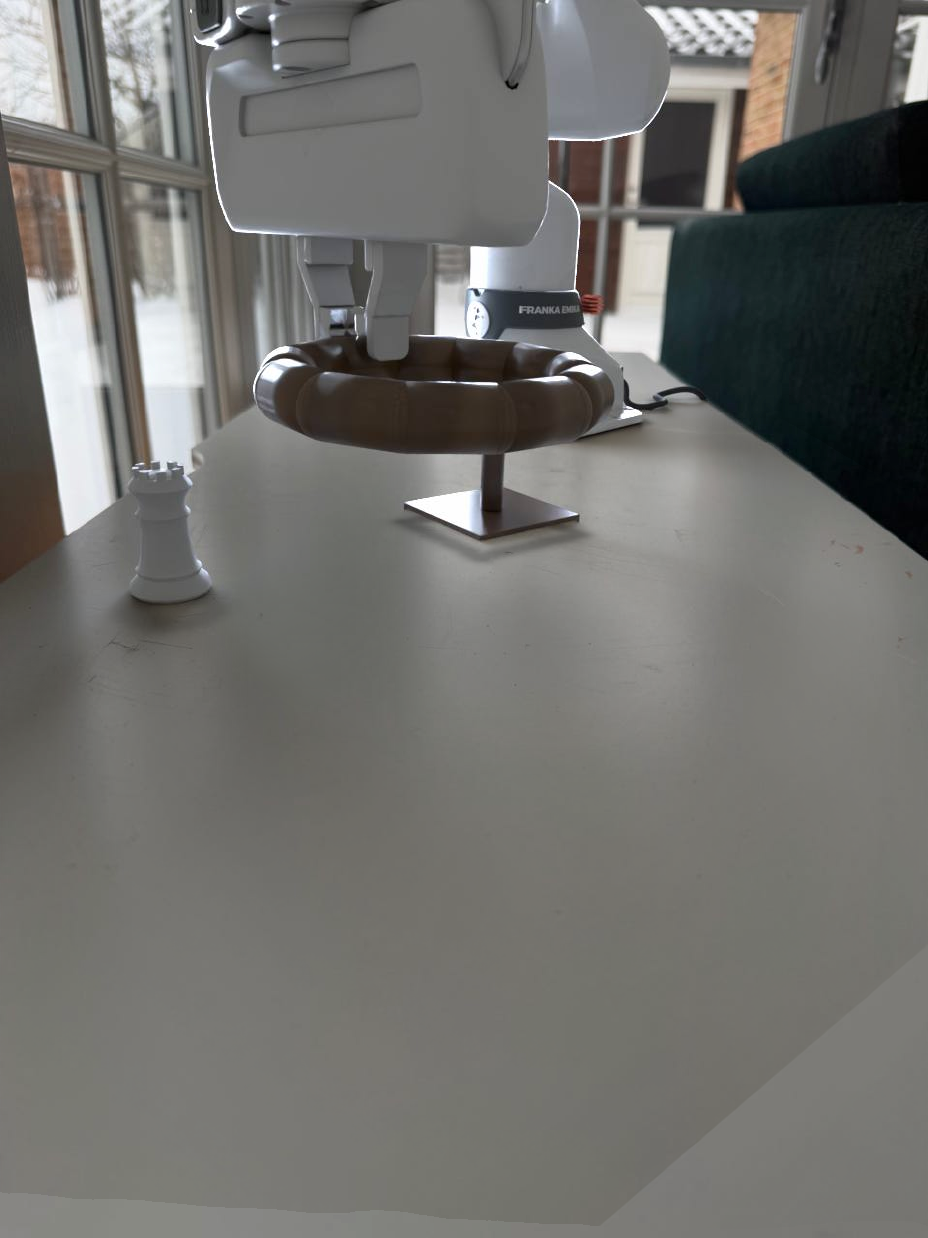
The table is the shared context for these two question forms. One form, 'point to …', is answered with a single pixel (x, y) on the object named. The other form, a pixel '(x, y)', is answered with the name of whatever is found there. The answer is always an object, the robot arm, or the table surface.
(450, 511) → the post
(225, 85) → the robot arm
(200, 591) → the rook chess piece
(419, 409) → the ring
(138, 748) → the table surface
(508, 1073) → the table surface
